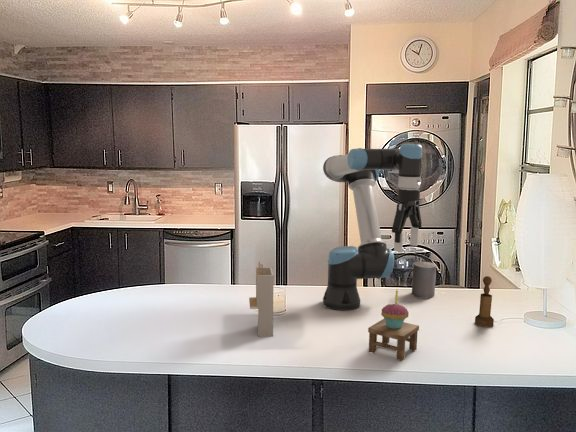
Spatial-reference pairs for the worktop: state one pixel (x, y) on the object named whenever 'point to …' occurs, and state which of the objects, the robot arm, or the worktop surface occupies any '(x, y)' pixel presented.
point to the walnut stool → (399, 334)
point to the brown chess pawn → (485, 306)
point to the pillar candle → (424, 279)
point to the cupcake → (394, 314)
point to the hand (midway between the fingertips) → (406, 248)
